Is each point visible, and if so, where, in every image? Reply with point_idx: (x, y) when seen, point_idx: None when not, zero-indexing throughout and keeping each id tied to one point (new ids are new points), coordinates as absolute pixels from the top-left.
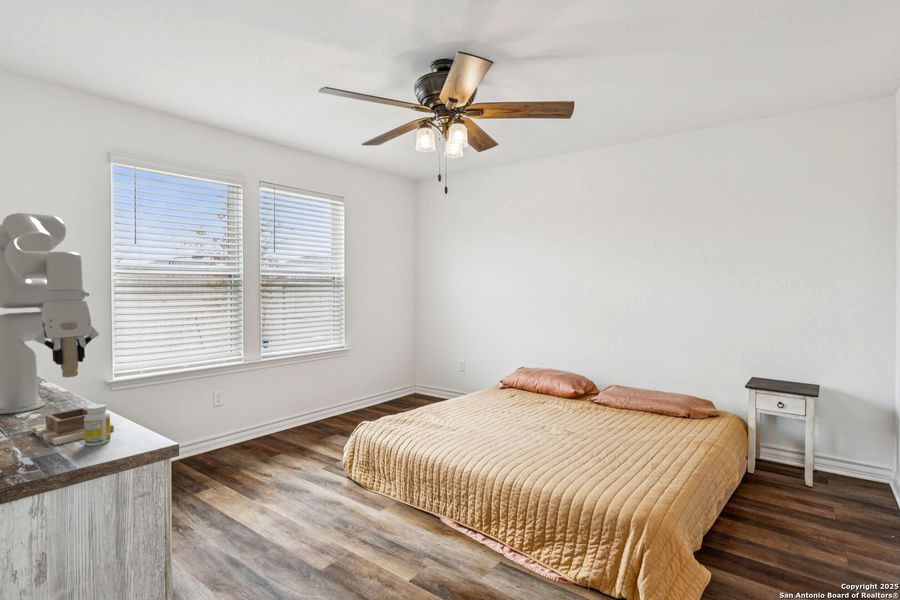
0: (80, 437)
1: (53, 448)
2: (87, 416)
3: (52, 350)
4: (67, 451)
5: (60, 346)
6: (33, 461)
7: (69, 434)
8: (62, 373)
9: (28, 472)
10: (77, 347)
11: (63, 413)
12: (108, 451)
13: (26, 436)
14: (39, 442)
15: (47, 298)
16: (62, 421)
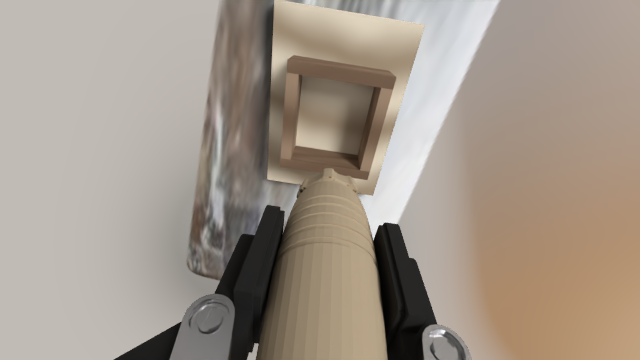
0: None
1: (262, 186)
2: None
3: (212, 301)
4: None
5: (256, 358)
6: (223, 218)
7: (297, 173)
8: (298, 196)
9: (210, 250)
10: (395, 336)
11: (330, 78)
12: None
13: (256, 32)
14: (259, 123)
15: None
16: (289, 167)
